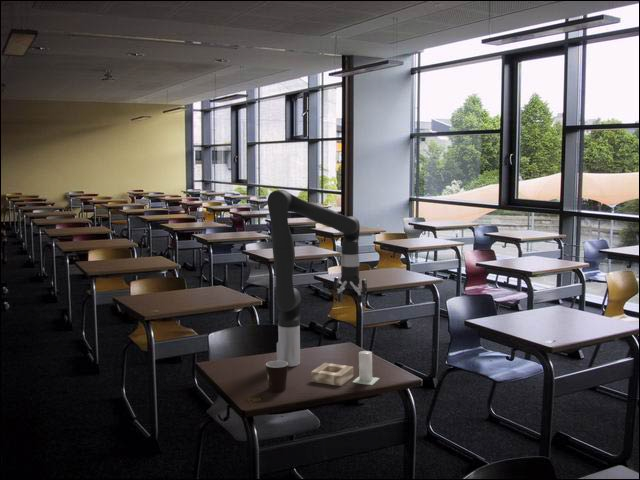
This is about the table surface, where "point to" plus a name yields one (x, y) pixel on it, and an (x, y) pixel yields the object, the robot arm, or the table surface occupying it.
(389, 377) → the table surface
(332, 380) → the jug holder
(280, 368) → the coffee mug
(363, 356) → the white upright block
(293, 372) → the table surface
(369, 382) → the mat
